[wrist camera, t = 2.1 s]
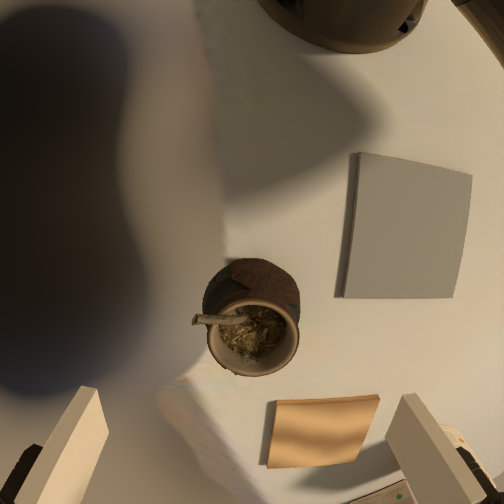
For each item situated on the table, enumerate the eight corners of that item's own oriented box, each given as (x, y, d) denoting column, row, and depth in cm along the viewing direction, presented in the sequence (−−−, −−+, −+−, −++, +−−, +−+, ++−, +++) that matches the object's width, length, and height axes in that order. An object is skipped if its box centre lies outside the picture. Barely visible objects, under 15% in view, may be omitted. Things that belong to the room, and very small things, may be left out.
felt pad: (358, 152, 23) (360, 152, 23) (468, 174, 24) (472, 175, 23) (341, 295, 26) (343, 298, 26) (449, 295, 27) (452, 297, 26)
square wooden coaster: (276, 400, 29) (277, 405, 28) (377, 394, 30) (380, 398, 29) (266, 463, 32) (266, 468, 31) (352, 457, 32) (354, 461, 31)
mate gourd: (267, 344, 27) (276, 423, 18) (189, 307, 26) (162, 377, 17) (311, 276, 26) (346, 335, 16) (228, 232, 25) (217, 272, 15)
